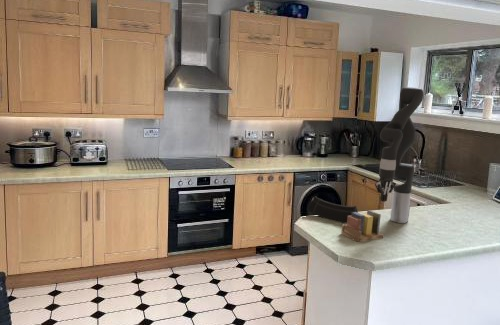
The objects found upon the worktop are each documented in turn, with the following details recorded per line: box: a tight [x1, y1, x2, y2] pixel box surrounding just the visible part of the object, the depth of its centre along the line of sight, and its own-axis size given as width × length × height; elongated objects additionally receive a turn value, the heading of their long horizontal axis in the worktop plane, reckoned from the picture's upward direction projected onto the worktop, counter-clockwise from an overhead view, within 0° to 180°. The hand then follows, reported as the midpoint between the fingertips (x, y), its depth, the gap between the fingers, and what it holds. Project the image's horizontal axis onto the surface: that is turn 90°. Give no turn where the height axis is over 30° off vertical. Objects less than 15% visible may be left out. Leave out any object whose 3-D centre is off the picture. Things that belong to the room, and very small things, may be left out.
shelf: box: [340, 212, 384, 243], centre depth 209 cm, size 17×12×12 cm
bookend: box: [366, 210, 382, 234], centre depth 212 cm, size 1×8×10 cm, turn 30°
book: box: [361, 213, 373, 235], centre depth 209 cm, size 4×6×9 cm, turn 29°
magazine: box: [306, 195, 359, 224], centre depth 232 cm, size 17×3×30 cm
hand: (383, 201), depth 213 cm, fingers closed
